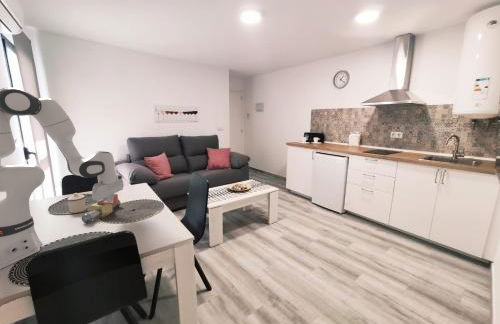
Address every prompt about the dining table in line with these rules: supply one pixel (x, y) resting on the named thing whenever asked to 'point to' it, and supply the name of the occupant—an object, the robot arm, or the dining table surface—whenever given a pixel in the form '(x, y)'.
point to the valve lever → (115, 202)
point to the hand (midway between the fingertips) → (110, 202)
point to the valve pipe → (99, 211)
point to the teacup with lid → (77, 203)
